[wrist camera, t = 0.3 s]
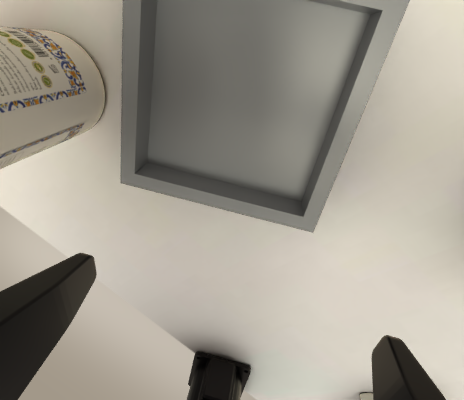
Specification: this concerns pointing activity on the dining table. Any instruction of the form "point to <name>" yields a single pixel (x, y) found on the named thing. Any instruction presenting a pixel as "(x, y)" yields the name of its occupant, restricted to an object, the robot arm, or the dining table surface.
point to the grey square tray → (248, 98)
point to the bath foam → (44, 92)
